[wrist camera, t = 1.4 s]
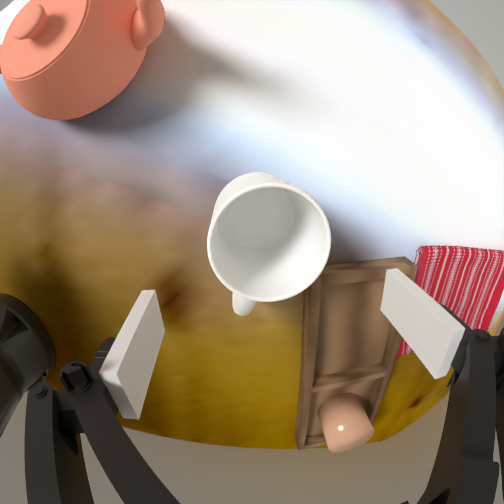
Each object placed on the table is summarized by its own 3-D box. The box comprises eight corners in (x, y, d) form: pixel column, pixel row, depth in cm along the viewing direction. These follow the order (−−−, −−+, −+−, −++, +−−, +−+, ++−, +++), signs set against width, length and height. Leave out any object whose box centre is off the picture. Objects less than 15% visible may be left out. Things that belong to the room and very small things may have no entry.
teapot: (203, -14, 19) (193, -83, 8) (193, 109, 24) (166, 78, 13) (33, 27, 17) (-25, 1, 6) (17, 136, 22) (-56, 143, 11)
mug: (271, 291, 31) (289, 350, 22) (197, 273, 30) (184, 330, 20) (308, 185, 28) (348, 205, 18) (227, 161, 26) (226, 166, 17)
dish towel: (477, 333, 39) (485, 340, 37) (383, 351, 37) (390, 362, 35) (507, 248, 34) (517, 253, 31) (416, 241, 31) (428, 248, 29)
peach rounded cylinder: (315, 423, 40) (325, 456, 33) (319, 397, 37) (332, 433, 31) (354, 414, 40) (368, 445, 33) (362, 388, 37) (379, 421, 31)
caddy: (294, 436, 42) (297, 449, 39) (304, 267, 31) (311, 278, 28) (362, 422, 43) (368, 433, 40) (404, 256, 31) (417, 265, 28)
